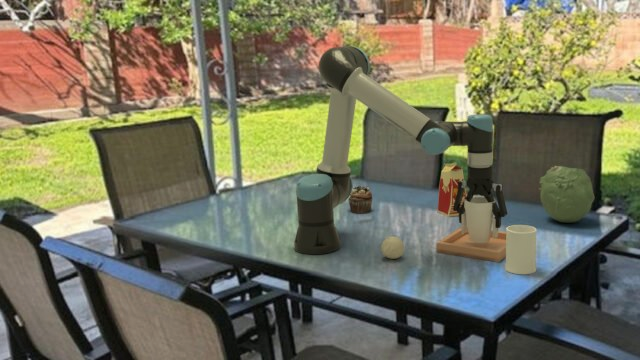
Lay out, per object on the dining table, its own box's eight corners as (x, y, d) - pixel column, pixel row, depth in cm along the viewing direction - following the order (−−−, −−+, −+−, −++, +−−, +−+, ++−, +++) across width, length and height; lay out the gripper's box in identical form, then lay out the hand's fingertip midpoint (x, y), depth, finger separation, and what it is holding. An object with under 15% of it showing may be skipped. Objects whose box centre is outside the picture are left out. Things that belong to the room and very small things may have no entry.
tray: (498, 262, 184) (498, 252, 184) (436, 251, 196) (436, 242, 195) (521, 243, 200) (522, 234, 199) (463, 234, 212) (463, 226, 211)
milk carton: (469, 213, 237) (469, 161, 232) (448, 217, 233) (448, 164, 229) (456, 208, 245) (455, 158, 241) (435, 211, 242) (435, 160, 237)
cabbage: (584, 231, 209) (587, 172, 204) (529, 222, 221) (531, 167, 217) (601, 220, 220) (603, 164, 216) (548, 212, 233) (549, 159, 228)
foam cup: (492, 235, 202) (492, 195, 199) (497, 244, 193) (498, 203, 190) (462, 235, 203) (462, 196, 200) (466, 244, 194) (466, 204, 191)
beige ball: (376, 259, 192) (375, 238, 191) (391, 252, 197) (390, 232, 196) (393, 263, 188) (393, 242, 186) (408, 257, 193) (408, 236, 191)
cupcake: (375, 207, 252) (374, 183, 250) (370, 214, 243) (369, 189, 241) (351, 207, 254) (350, 183, 252) (346, 213, 245) (345, 188, 243)
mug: (520, 259, 186) (521, 220, 184) (547, 265, 180) (548, 225, 178) (499, 270, 178) (499, 229, 176) (526, 277, 172) (527, 235, 170)
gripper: (519, 165, 189) (518, 237, 194) (451, 160, 202) (452, 227, 207) (511, 170, 183) (509, 243, 188) (441, 164, 196) (442, 233, 201)
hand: (479, 235), depth 197 cm, fingers closed on foam cup, 9 cm apart
